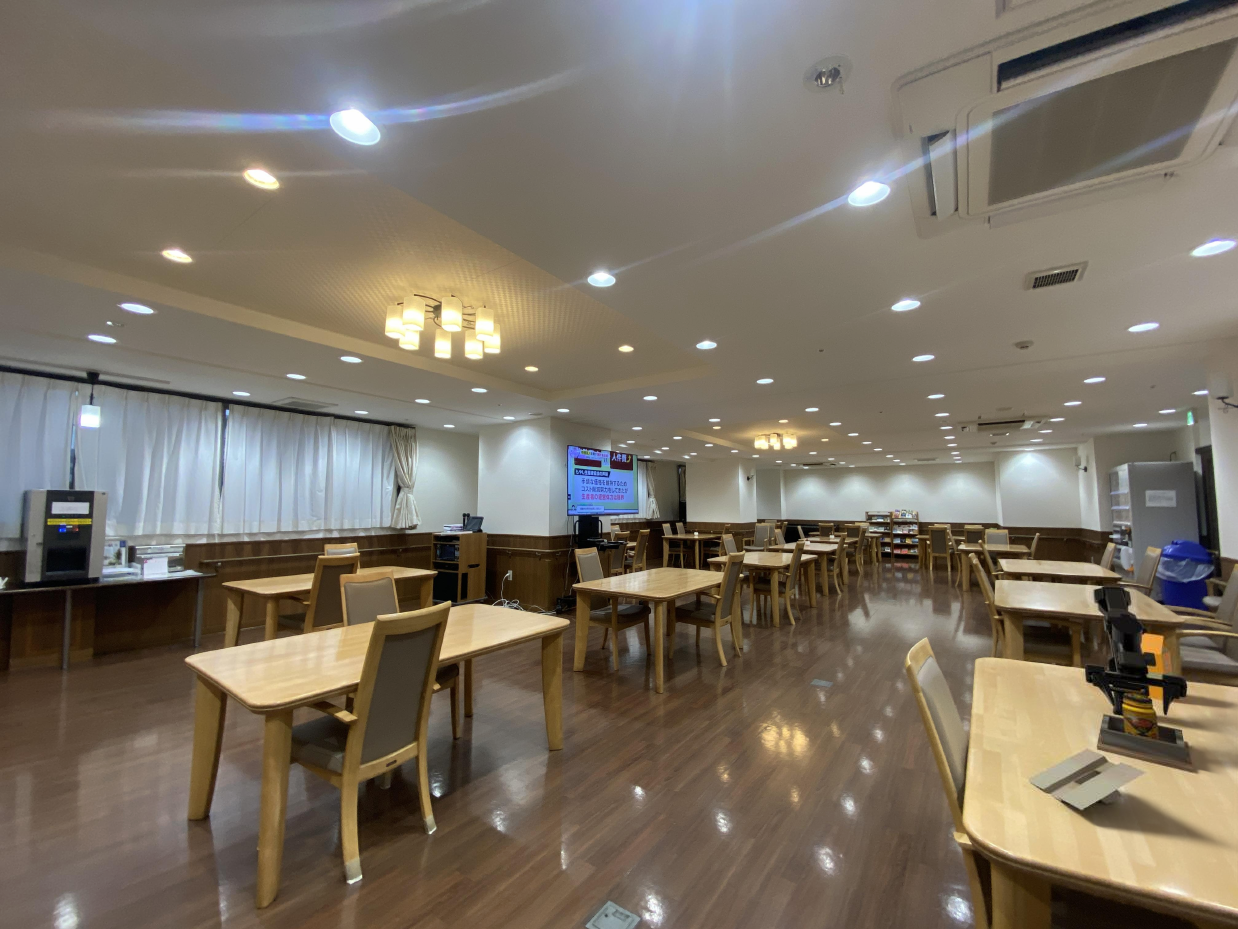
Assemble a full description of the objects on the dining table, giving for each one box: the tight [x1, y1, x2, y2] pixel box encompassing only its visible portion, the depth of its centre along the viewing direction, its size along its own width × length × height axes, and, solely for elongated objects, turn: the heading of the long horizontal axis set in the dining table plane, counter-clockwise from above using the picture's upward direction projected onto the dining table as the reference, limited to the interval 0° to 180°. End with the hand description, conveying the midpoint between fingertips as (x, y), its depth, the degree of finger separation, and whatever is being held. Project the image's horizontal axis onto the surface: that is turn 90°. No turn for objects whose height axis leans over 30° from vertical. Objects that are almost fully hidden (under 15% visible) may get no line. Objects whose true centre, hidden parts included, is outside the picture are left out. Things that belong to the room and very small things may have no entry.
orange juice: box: [1141, 632, 1174, 702], centre depth 164 cm, size 8×9×20 cm
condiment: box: [1122, 693, 1159, 741], centre depth 127 cm, size 7×8×12 cm
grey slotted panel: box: [1027, 748, 1147, 811], centre depth 102 cm, size 16×9×15 cm
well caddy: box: [1096, 713, 1194, 773], centre depth 126 cm, size 20×16×4 cm
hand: (1139, 709), depth 126 cm, fingers open, 9 cm apart
